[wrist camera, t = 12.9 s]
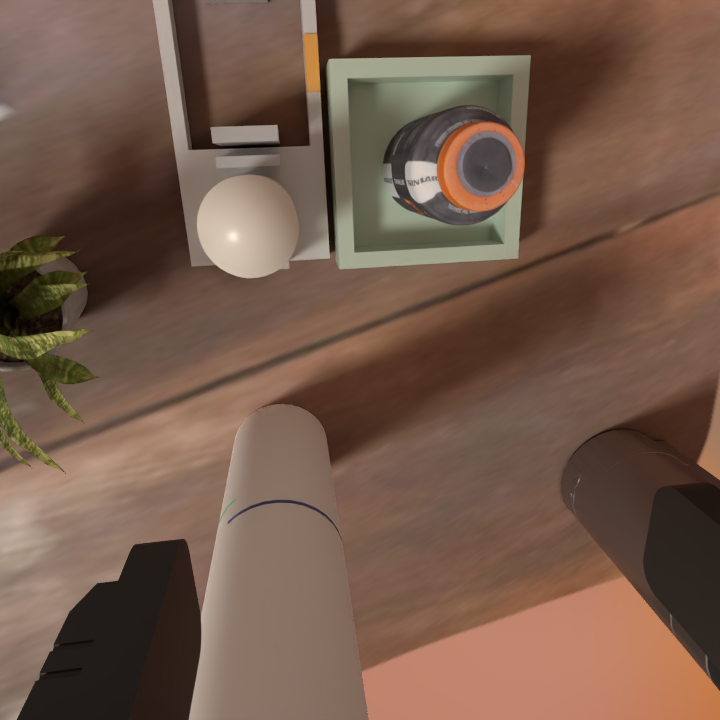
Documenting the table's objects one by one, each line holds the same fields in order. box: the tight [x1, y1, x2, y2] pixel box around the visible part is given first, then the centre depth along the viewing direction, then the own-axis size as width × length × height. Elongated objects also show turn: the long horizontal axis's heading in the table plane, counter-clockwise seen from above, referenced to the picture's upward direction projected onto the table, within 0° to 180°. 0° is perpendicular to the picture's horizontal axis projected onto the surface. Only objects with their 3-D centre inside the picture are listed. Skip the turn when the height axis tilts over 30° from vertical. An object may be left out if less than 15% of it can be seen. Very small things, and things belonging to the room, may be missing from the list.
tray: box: [325, 55, 531, 269], centre depth 34 cm, size 12×12×3 cm
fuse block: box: [153, 0, 330, 278], centre depth 28 cm, size 9×23×10 cm, turn 2°
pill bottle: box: [383, 105, 525, 226], centre depth 30 cm, size 6×6×11 cm
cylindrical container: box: [189, 404, 368, 720], centre depth 30 cm, size 7×7×25 cm
